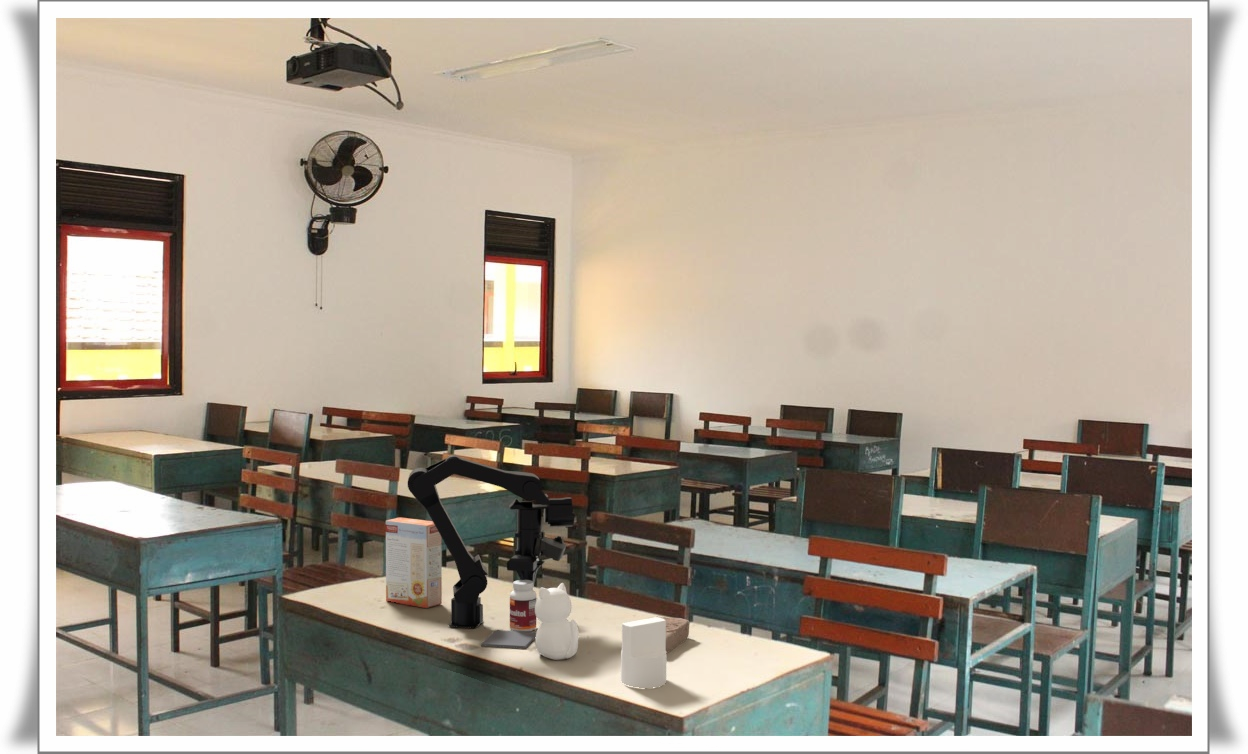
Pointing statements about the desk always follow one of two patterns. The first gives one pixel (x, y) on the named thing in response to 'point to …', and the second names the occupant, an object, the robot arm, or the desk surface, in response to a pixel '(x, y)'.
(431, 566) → the cracker box
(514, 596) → the pill bottle
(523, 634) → the mat
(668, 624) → the brick
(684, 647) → the desk surface
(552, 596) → the cat figurine
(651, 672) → the base with upright slab
